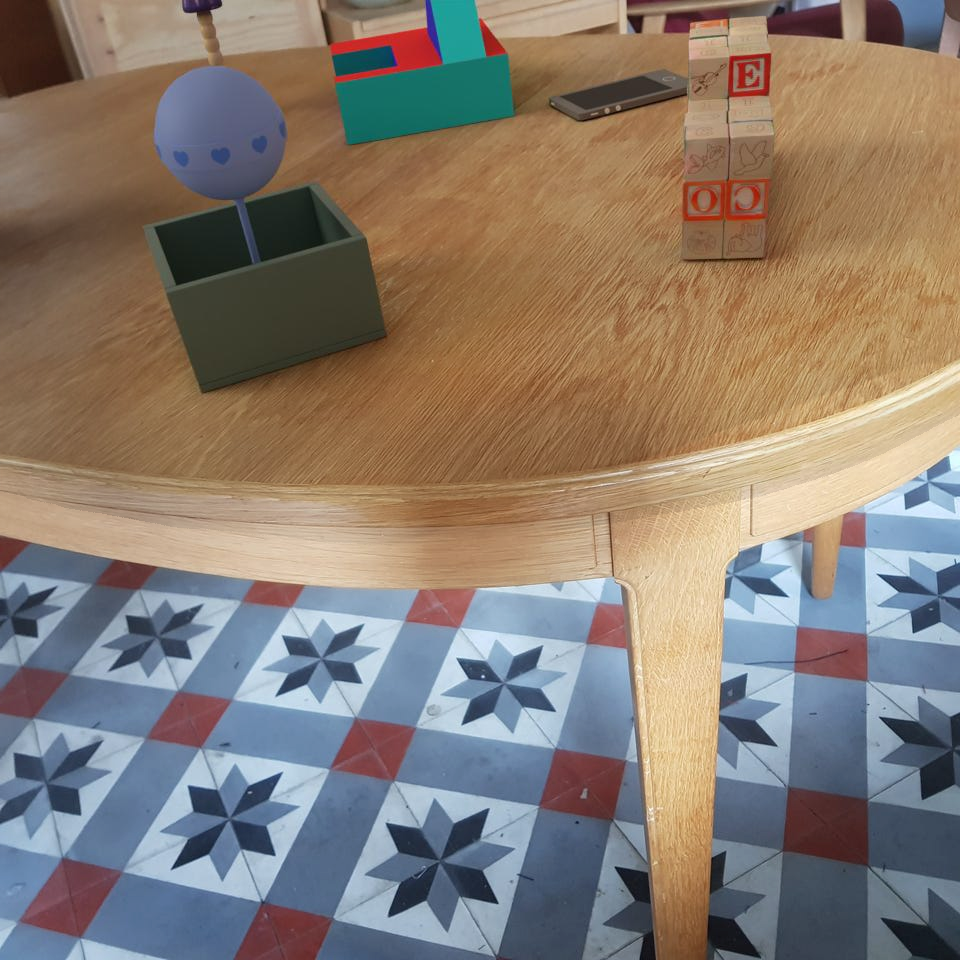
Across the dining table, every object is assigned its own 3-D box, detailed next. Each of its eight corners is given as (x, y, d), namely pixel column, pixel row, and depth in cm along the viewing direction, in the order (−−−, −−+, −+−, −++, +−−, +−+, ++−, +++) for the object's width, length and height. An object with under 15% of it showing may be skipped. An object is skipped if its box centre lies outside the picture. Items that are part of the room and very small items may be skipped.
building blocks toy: (480, 63, 126) (461, -96, 115) (514, 115, 106) (495, -71, 95) (339, 87, 125) (307, -71, 114) (347, 145, 105) (309, -40, 94)
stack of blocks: (766, 260, 70) (778, 88, 63) (680, 262, 72) (681, 94, 64) (758, 158, 87) (767, 12, 79) (688, 161, 88) (690, 18, 81)
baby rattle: (348, 320, 70) (288, 63, 59) (237, 360, 67) (152, 98, 56) (306, 282, 76) (245, 42, 65) (203, 317, 73) (121, 73, 62)
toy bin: (174, 316, 75) (142, 225, 71) (336, 269, 79) (316, 180, 74) (201, 393, 65) (165, 293, 60) (387, 336, 68) (366, 237, 64)
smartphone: (579, 121, 101) (578, 114, 100) (547, 104, 107) (546, 97, 107) (701, 90, 104) (701, 83, 104) (663, 74, 110) (663, 68, 110)
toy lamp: (215, 116, 121) (174, -29, 111) (251, 109, 121) (213, -36, 111) (214, 126, 117) (171, -23, 107) (251, 120, 118) (211, -29, 108)
